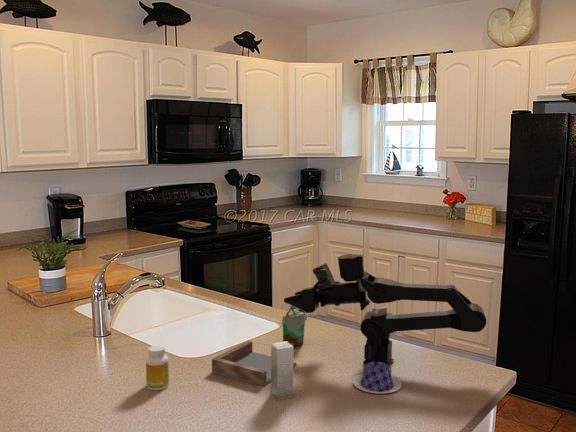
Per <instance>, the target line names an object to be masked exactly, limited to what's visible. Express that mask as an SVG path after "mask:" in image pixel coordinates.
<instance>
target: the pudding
mask: <svg viewBox="0 0 576 432" xmlns="http://www.w3.org/2000/svg"><path fill="white" fill-rule="evenodd" d="M352 384H353V385H354V387H355V388H357V389H359V390H362V391H364V392H366V393H371V394H390V393H395V392H397V391H398V390H400V389H401V388H402V382H401V381H400V379H398V378H397V377H395V376H393V375H392V371H391V368H390V367H389V366H388V365H387V364H385V363H381V362H370V363H367V364H365V366H364V370H363V373H360V374H358V375H355V377H353V379H352Z"/></svg>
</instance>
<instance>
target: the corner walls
mask: <svg viewBox="0 0 576 432" xmlns="http://www.w3.org/2000/svg"><path fill="white" fill-rule="evenodd" d="M251 352H253V341H251V340H246V341H245V342H243V343H241V344H239V345H237V346H235V347H233V348H231V349H229V350H227V351H225V352H223V353H222V354H219V355H217V356H215V357H214V358H212V359H211V371H212V370H213V371H217V372H220V373H224V374H227V375H231V376H234V377H238V378H242V379H245V380H249V381H252V382H256V383H259V384H264V383H266V371H265V370H262V369H258V368H254V367H250V366H247V365H243V364H239V363H235V361H237V360H238V359H240V358H242V357H244V356H246V355H248V354H249V353H251Z"/></svg>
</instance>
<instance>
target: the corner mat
mask: <svg viewBox="0 0 576 432" xmlns="http://www.w3.org/2000/svg"><path fill="white" fill-rule="evenodd" d="M235 363H239V364H243V365H247V366H250V367H254V368H258V369H262V370H265V371H266V383H264V384H259V383H256V382H252V381H249V380H245V379H242V378H238V377H234V376H231V375H227V374H224V373H220V372H217V371H213V370H212V369H211V373H214V374H216V375H220V376H223V377H228V378H230V379H234V380H238V381H241V382H244V383H248V384H251V385H255V386H259V387H262V388H263V387H265V386H266V385H268V384H269V383H271V355H266V354H262V353H258V352H255V351H252V352H251V353H249V354H248V355H246V356H244V357H242V358H240V359H238V360H237V361H235ZM295 366H297V362H295V361H293V368H294V367H295Z"/></svg>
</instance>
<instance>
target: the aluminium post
mask: <svg viewBox="0 0 576 432" xmlns="http://www.w3.org/2000/svg"><path fill="white" fill-rule="evenodd" d="M294 349H295V348H294V347H293V346H292V345H291V344H290V343H288V342H287V341H285V342H283V341H280V342H279V341H278V342H272V343H270V356H271V382H270V383H271V384H270V394H271V395H272V397H273V398H274V399H275V400H276V401H279V402H280V401H283V400H288V399H293V398H294V367H293V362H294V354H295V353H294V351H295V350H294Z"/></svg>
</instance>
